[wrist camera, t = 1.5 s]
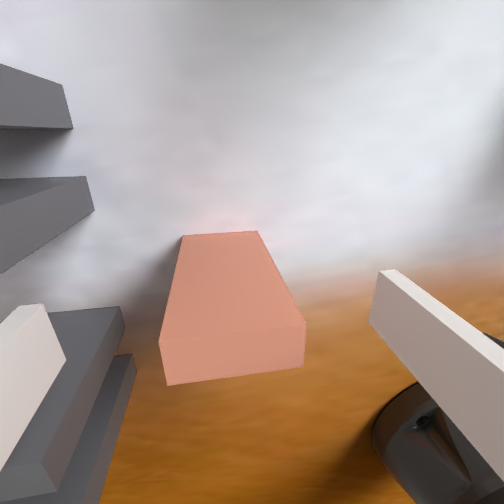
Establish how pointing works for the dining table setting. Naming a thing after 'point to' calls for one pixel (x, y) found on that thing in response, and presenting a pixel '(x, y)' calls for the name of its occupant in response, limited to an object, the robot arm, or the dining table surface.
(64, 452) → the domino
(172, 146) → the dining table surface
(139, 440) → the dining table surface
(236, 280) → the domino
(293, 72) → the dining table surface
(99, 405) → the domino
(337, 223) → the dining table surface
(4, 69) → the domino
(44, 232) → the domino
